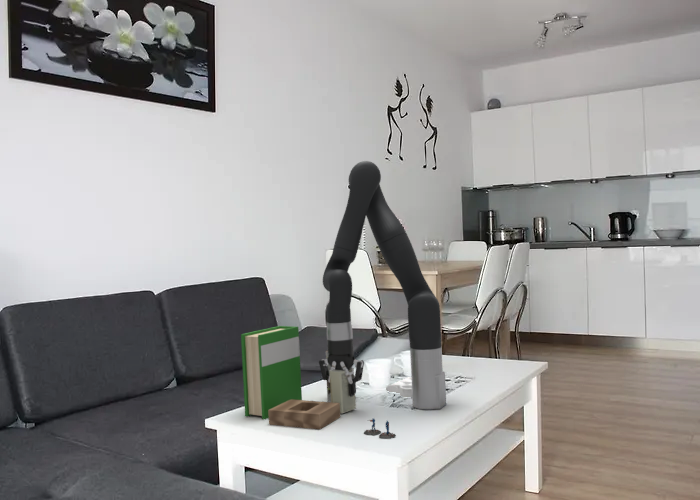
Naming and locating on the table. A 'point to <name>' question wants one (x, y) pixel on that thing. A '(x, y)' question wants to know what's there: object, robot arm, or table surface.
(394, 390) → the white brass knuckles
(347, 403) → the skincare box
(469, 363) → the table surface
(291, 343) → the hardback book
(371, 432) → the figurines
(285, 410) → the walnut holder block
